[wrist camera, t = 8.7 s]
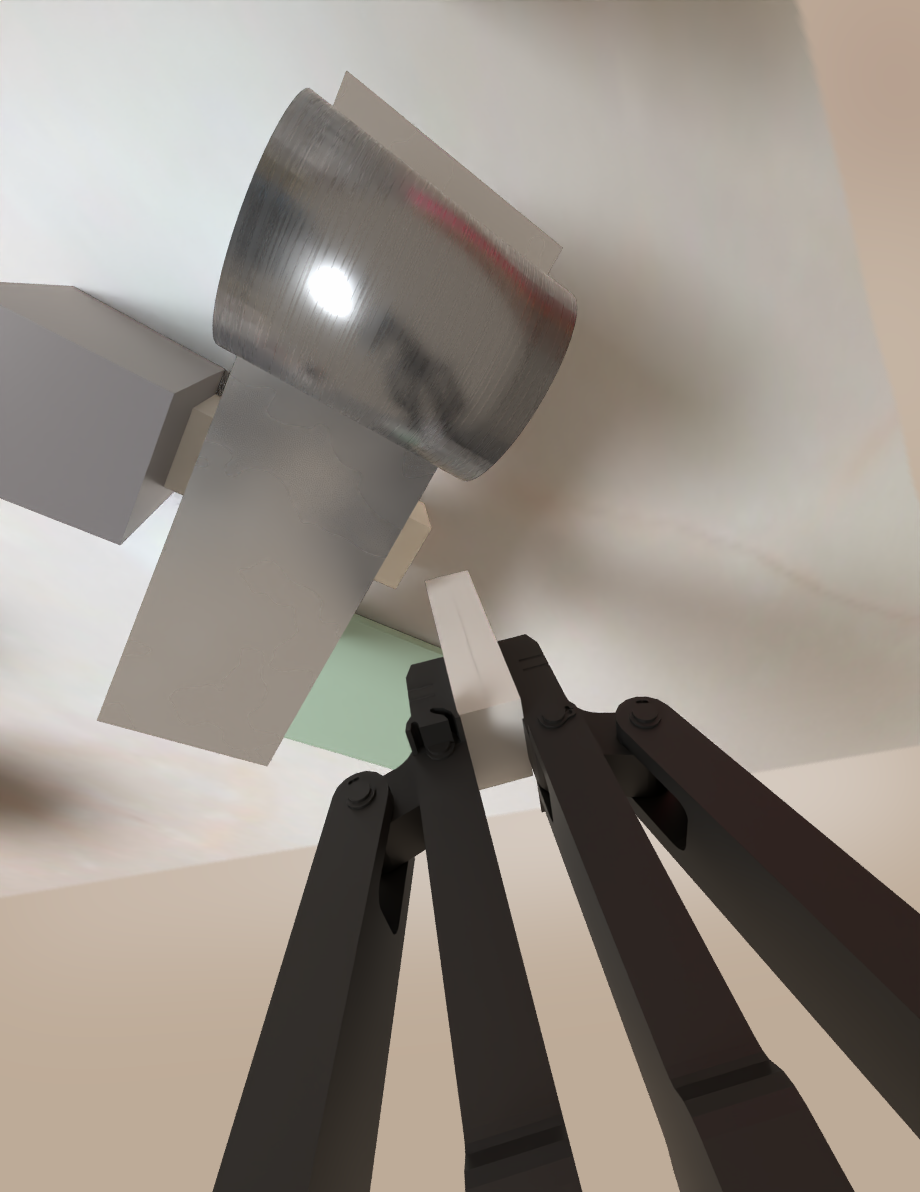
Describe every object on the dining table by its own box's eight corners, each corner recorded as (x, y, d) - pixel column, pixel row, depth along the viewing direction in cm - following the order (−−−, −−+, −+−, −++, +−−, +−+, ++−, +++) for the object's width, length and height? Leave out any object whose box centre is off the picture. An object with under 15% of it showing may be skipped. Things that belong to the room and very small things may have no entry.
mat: (265, 723, 27) (263, 731, 27) (330, 603, 25) (330, 610, 24) (431, 772, 31) (432, 780, 31) (504, 673, 28) (506, 680, 28)
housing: (187, 578, 23) (18, 844, 12) (354, 175, 17) (336, -65, 6) (297, 620, 25) (242, 885, 13) (481, 269, 19) (651, 223, 8)
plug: (6, 407, 19) (-131, 447, 14) (38, 267, 17) (-103, 252, 12) (381, 576, 24) (386, 649, 19) (435, 483, 23) (456, 537, 17)
